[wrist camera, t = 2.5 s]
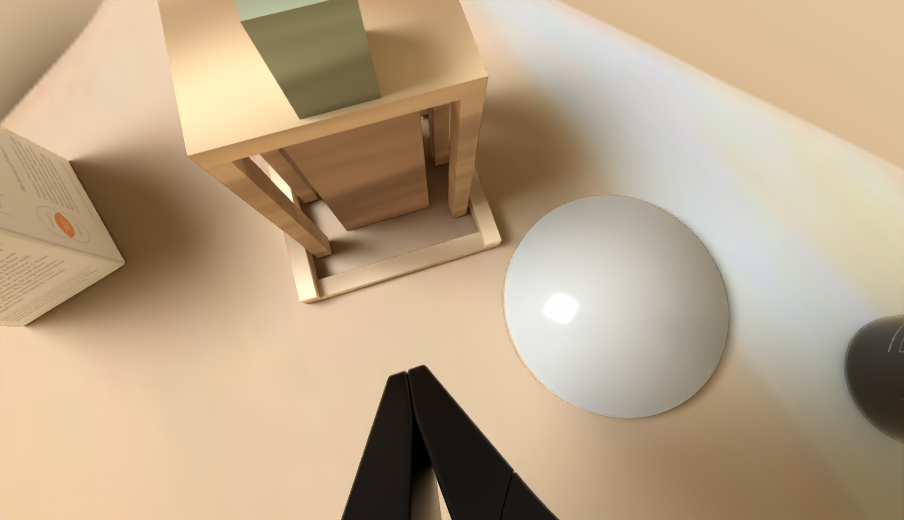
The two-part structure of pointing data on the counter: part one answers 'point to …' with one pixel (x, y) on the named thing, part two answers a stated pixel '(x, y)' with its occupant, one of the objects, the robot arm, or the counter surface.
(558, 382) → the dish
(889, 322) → the supplement bottle
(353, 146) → the walnut block
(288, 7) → the wooden toy stool
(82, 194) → the small box
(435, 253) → the track
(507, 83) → the counter surface
